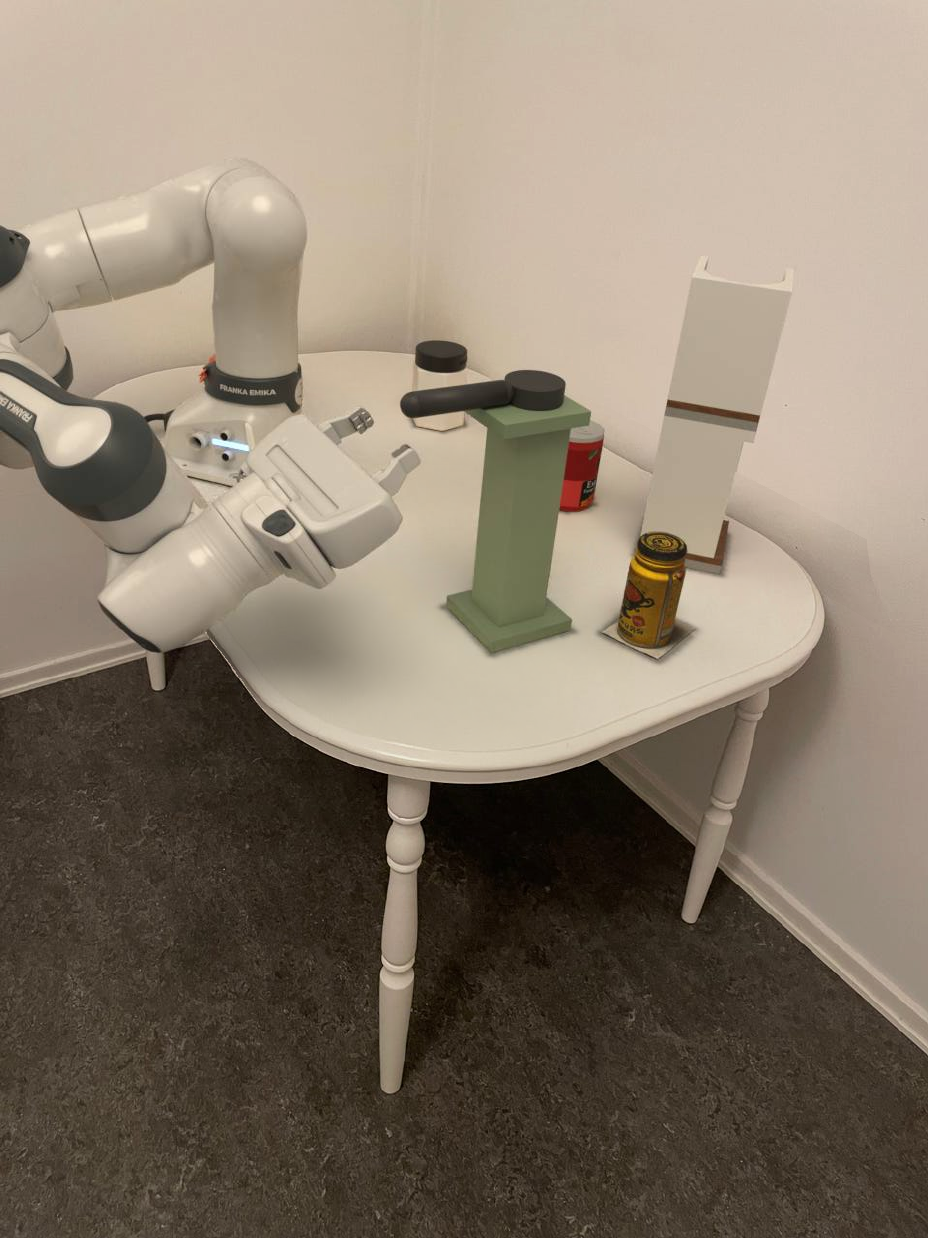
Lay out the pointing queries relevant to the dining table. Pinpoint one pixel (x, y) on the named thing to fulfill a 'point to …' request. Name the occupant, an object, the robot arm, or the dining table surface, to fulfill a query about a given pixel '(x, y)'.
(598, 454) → the canned food
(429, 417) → the jar
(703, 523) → the white channel column
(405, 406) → the dark grey paddle
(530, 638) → the stand
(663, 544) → the condiment
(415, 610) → the dining table surface
